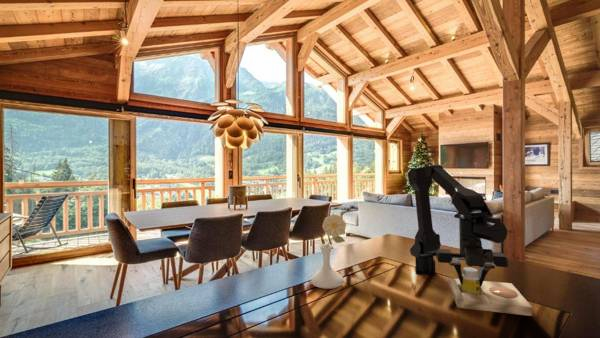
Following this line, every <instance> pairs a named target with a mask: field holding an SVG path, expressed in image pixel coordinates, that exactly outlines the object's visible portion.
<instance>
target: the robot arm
mask: <svg viewBox="0 0 600 338" xmlns="http://www.w3.org/2000/svg"><path fill="white" fill-rule="evenodd" d="M407 178H408V184H409V186H410V187H411V188H412V190H413V191H414V198H415V207H416V208H415V209H416V218H417V227H418V230H417V232H416V234H415V235H414V243H413V245H412V246H411V247H410V249H409V252H410V255H411V256H412V257H414V259H415V266H414V269H415V274H419V275H427V276H429V275H430V276H435V274H436V273H435V272H436V260H435V258H434V257H436V259H437V262H438V263H442V264H449V266H452V267H454V270H455V271H456V273H457V277H458V278H457V279H459V280H460V283H461V285H463V279H462V275H463V274H462V273H463V271H462V264H461V263H460V261H461V260H462V261H463V260H464V261H465V265H466V266H467V267H478V277H479V279H480V286H482V283H483V281H485V279H486V276H487V274H488V273H489V271H491V270H492V269H493V270H494V269H496V267H498V268H499V267H500V268H509V267H510V266H509V265H510V261H509V258H508V257H507V256H506V255H505V254H504V253H502V252H501V251H499V252H498V251H493V249H491V248H488V249H487V248H483V246H482V245H483V244H482V240H485V241H487V242H488V241H489V242H492V243H496V244H501V243H503V242H504V241H505V240H506V239H507V236H508V229H507V226H506V225H505V224H504V223H502V219H501V218H500V217H494V215H493V213H492V211H491V209H490V208H489V206H488V205H487V203H486V201H485V199H484V198H485V197H484V196H483V195H482V194H480V193H479V192H477V191H476V190H473V189H472V188H468V187H465V186H463V185H462V184H461V183H460V182H459V181H458V180H456V179H455V177H453V176H452V175H451V174H450V173H449V172H448V171H446V169H444V167H443V166H442V165H440V164H428V165H426V166H423V167H411V168H410V169H409V171H408V172H407ZM433 181H434V182H435V183H436V184H438V186H439V187H440V188H441V189H442V190H444V191H445V193H446V194H447V195H449V196H450V198H451V200H450V202H451V204H452V205H453V206H454V208H455V209H456V211H457V213H455V214H454V216H453V217H454V218H455V219H458V221H459V225H458V226H459V229H458V230H459V252H452V251H451V249H449V248H441V245H442V244H441V236H440V233H437V232H436V231H435V230H434V228H433V220H432V209H431V201H430V200H431V199H430V188H431V187H432V185H433Z"/></svg>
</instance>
